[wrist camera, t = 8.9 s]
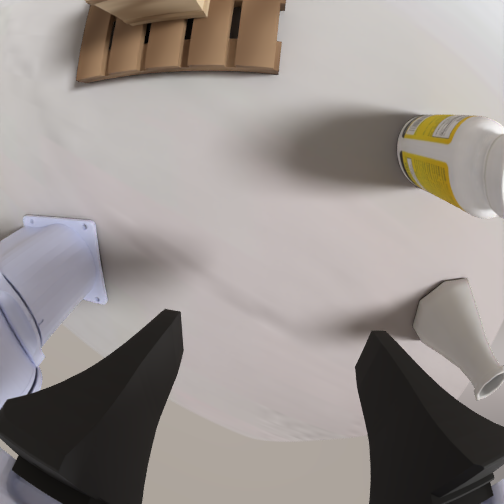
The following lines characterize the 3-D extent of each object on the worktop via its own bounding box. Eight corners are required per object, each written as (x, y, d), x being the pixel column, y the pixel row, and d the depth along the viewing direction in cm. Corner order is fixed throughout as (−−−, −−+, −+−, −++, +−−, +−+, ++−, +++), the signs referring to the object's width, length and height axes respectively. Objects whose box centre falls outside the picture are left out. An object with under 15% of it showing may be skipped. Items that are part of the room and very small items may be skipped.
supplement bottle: (446, 195, 17) (534, 249, 8) (388, 178, 17) (475, 229, 8) (459, 128, 15) (557, 148, 6) (400, 104, 15) (499, 98, 6)
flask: (472, 265, 19) (536, 332, 10) (469, 321, 22) (513, 388, 13) (408, 294, 21) (460, 382, 12) (412, 348, 23) (446, 427, 14)
